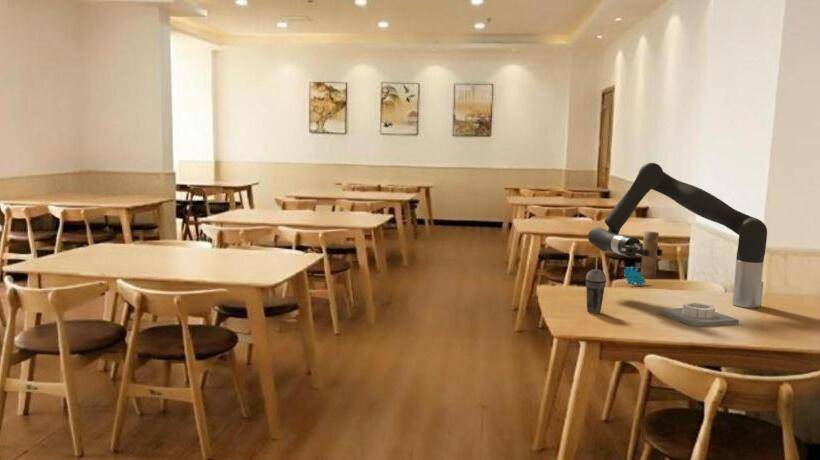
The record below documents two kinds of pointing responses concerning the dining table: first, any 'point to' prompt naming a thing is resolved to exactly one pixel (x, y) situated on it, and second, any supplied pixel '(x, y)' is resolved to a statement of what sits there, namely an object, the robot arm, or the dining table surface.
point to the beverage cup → (595, 289)
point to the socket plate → (698, 320)
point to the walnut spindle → (649, 261)
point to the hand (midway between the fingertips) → (654, 253)
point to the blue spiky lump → (634, 276)
